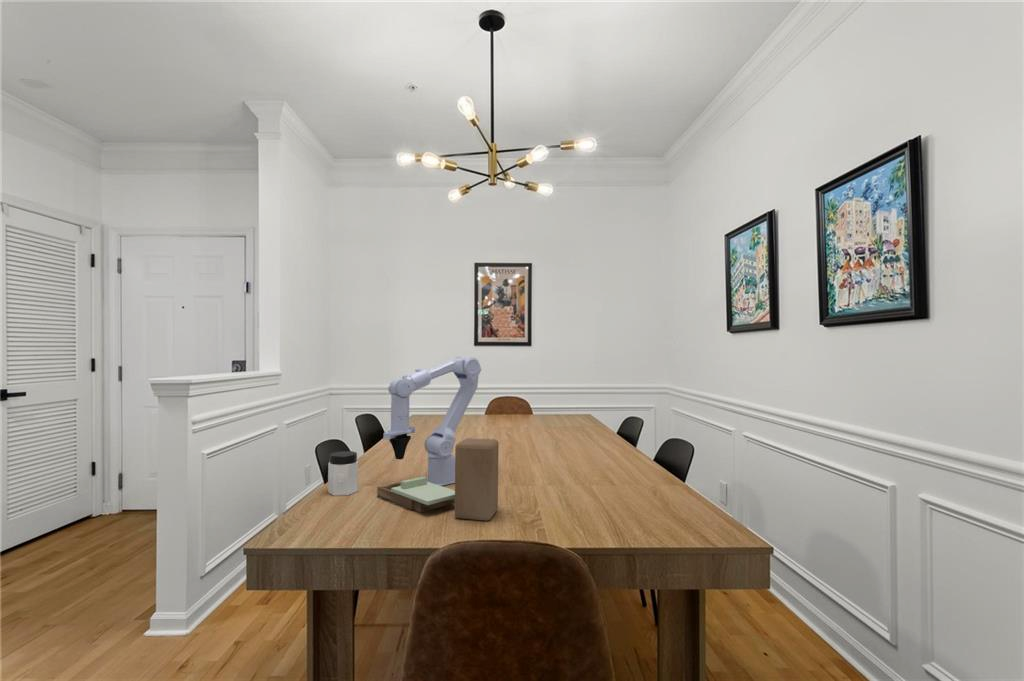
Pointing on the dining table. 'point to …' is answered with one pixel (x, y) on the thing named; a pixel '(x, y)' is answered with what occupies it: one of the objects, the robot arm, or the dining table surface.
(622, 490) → the dining table surface
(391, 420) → the robot arm
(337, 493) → the jar
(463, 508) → the block
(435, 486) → the lid
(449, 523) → the dining table surface
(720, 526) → the dining table surface
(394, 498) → the brown wooden tray
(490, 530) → the dining table surface
